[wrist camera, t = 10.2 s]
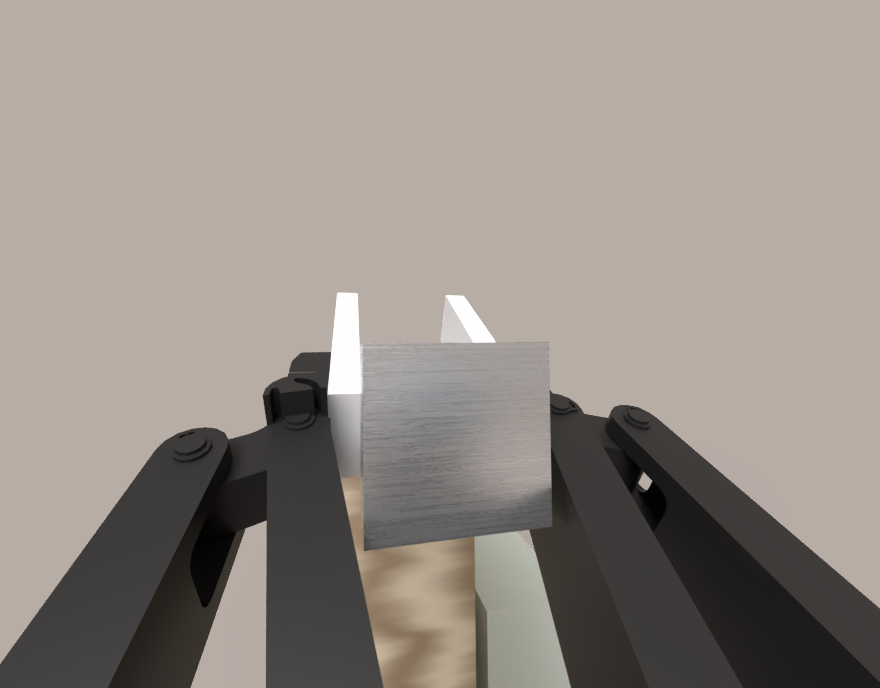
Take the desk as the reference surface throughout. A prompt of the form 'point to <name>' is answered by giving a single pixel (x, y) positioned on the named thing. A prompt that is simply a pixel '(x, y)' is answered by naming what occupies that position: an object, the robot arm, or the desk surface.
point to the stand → (418, 606)
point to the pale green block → (513, 618)
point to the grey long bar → (453, 441)
